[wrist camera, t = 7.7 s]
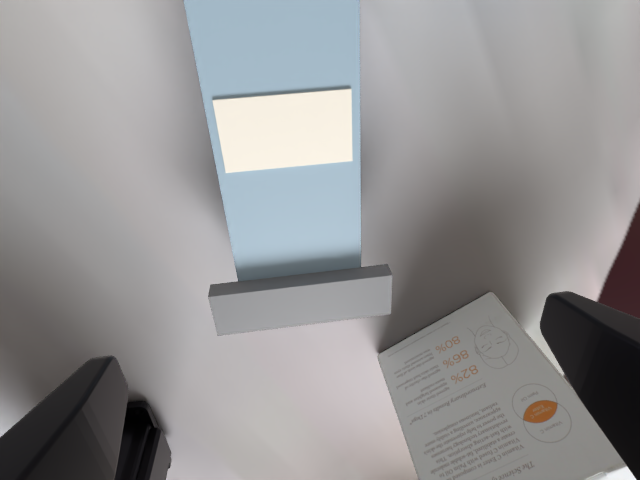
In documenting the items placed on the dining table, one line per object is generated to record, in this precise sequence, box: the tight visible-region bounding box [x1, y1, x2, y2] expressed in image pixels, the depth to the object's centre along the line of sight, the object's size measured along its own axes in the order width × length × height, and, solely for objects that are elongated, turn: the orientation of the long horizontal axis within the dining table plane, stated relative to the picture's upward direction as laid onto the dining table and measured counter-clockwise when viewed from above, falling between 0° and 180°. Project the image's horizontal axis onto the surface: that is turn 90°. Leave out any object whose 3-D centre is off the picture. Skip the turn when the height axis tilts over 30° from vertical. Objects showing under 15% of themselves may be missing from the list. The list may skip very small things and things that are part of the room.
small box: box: [378, 292, 636, 480], centre depth 21 cm, size 8×6×10 cm
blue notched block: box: [184, 0, 393, 336], centre depth 16 cm, size 7×13×5 cm, turn 3°
